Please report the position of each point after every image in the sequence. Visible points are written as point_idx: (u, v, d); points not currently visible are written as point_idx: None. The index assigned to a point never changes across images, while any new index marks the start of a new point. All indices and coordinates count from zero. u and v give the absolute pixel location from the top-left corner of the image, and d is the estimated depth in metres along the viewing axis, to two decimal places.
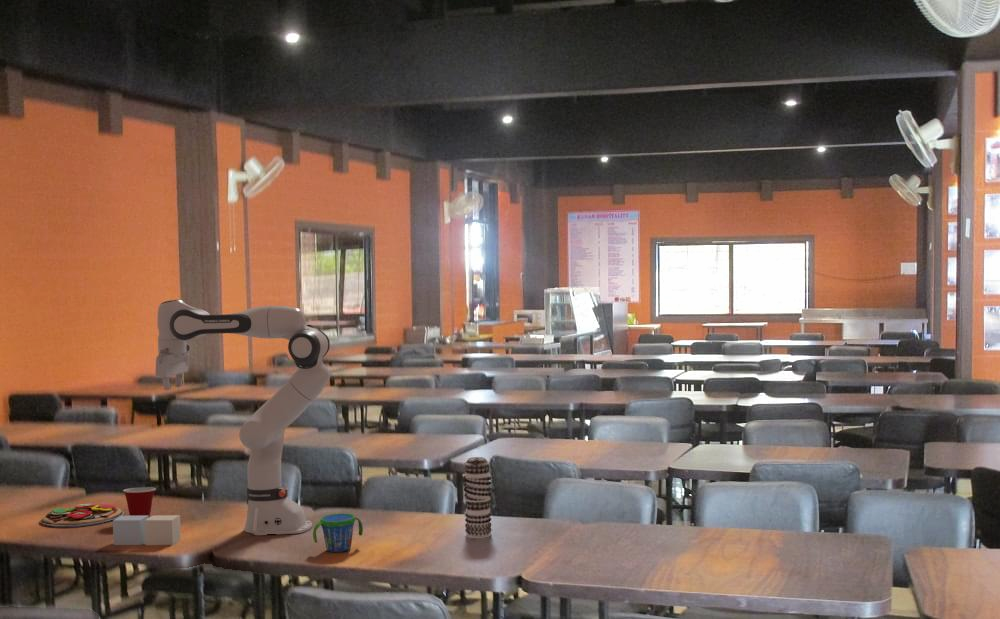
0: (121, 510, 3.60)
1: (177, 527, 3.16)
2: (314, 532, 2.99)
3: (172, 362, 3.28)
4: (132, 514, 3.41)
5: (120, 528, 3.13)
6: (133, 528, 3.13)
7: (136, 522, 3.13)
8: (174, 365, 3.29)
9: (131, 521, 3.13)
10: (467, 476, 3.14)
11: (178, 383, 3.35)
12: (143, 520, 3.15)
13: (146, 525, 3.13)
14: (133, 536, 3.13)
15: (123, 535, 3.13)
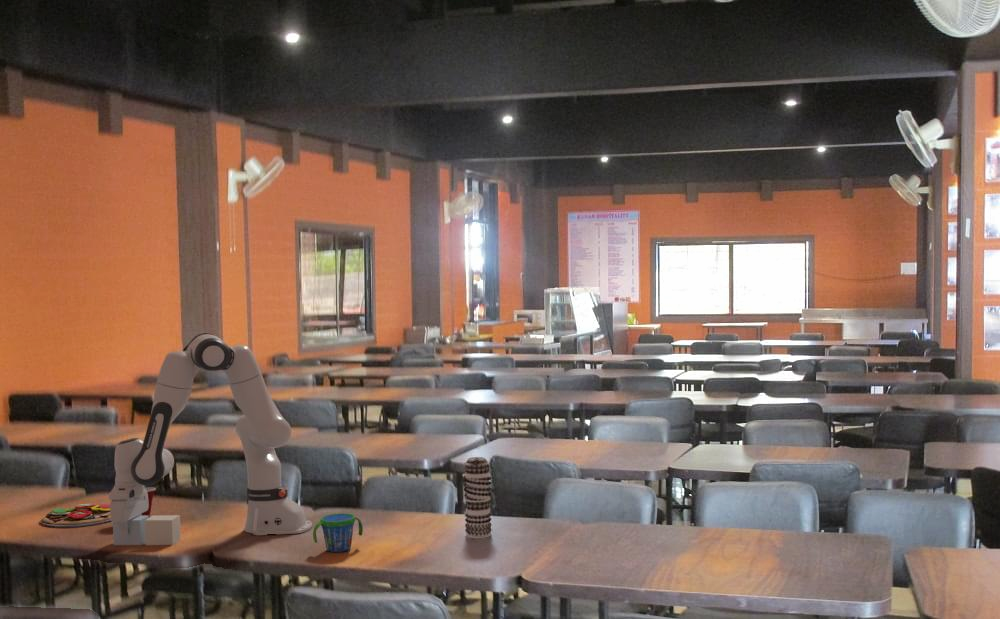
0: None
1: (177, 527, 3.16)
2: (314, 532, 2.99)
3: None
4: None
5: (120, 528, 3.13)
6: (133, 528, 3.13)
7: (136, 522, 3.13)
8: None
9: (131, 521, 3.13)
10: (467, 476, 3.14)
11: None
12: (143, 520, 3.15)
13: (146, 525, 3.13)
14: (133, 536, 3.13)
15: (123, 535, 3.13)
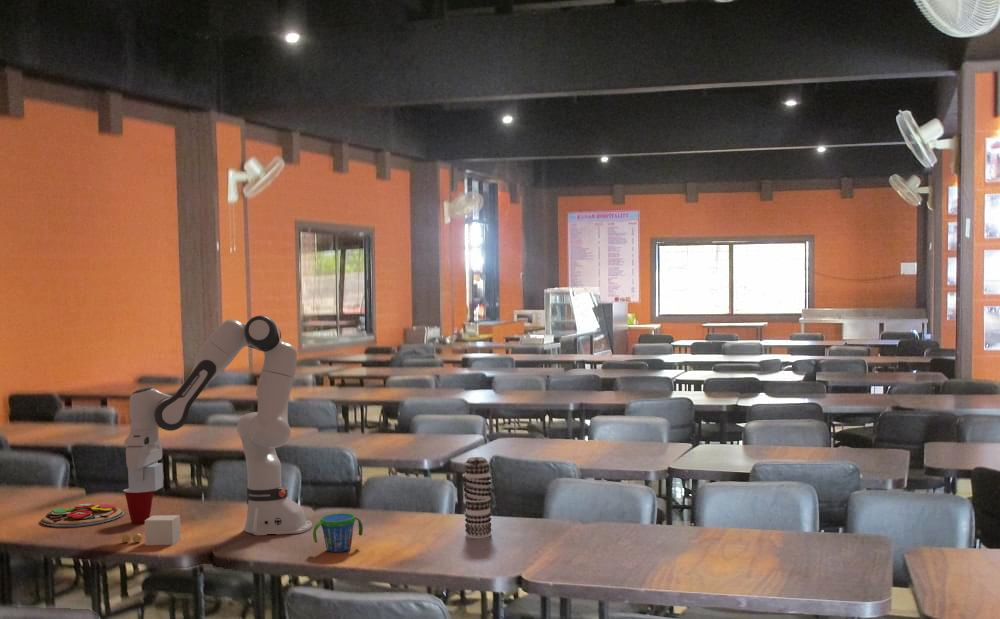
0: (121, 510, 3.60)
1: (177, 527, 3.16)
2: (314, 532, 2.99)
3: None
4: (132, 514, 3.41)
5: (135, 474, 3.23)
6: (148, 474, 3.22)
7: (151, 468, 3.22)
8: None
9: (146, 467, 3.22)
10: (467, 476, 3.14)
11: None
12: (157, 467, 3.25)
13: (146, 525, 3.13)
14: (147, 482, 3.22)
15: (138, 481, 3.23)
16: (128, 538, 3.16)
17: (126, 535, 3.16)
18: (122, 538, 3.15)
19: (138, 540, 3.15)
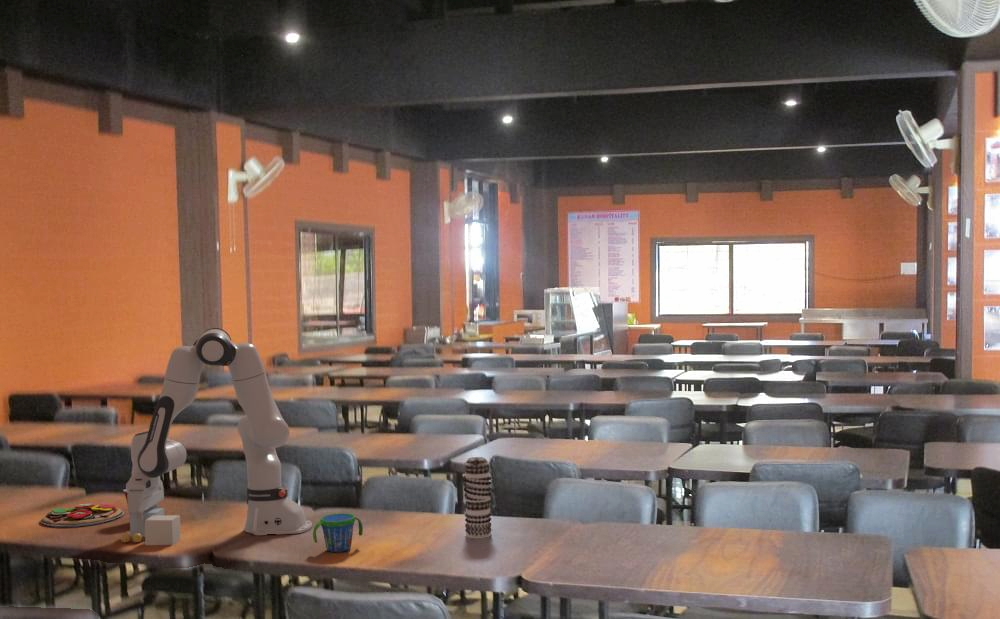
0: (121, 510, 3.60)
1: (177, 527, 3.16)
2: (314, 532, 2.99)
3: None
4: None
5: (137, 520, 3.23)
6: None
7: (153, 514, 3.23)
8: None
9: (147, 514, 3.23)
10: (467, 476, 3.14)
11: None
12: (159, 513, 3.25)
13: (146, 525, 3.13)
14: None
15: (140, 527, 3.23)
16: (128, 538, 3.16)
17: (126, 535, 3.16)
18: (122, 538, 3.15)
19: (138, 540, 3.15)
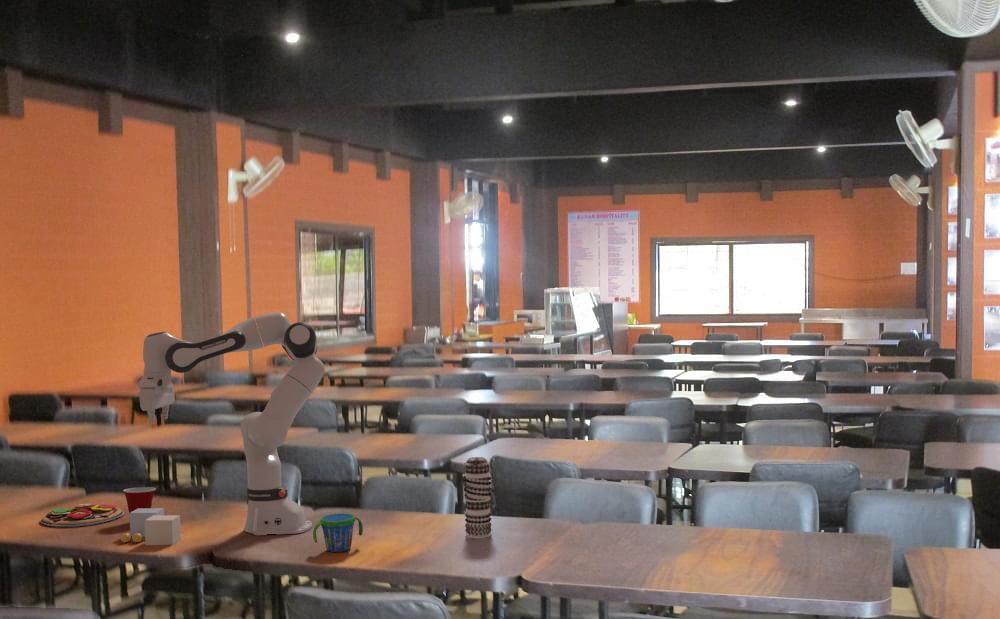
0: (121, 510, 3.60)
1: (177, 527, 3.16)
2: (314, 532, 2.99)
3: None
4: None
5: (137, 520, 3.23)
6: None
7: (153, 514, 3.23)
8: None
9: (147, 514, 3.23)
10: (467, 476, 3.14)
11: None
12: (159, 513, 3.25)
13: (146, 525, 3.13)
14: None
15: (140, 527, 3.23)
16: (128, 538, 3.16)
17: (126, 535, 3.16)
18: (122, 538, 3.15)
19: (138, 540, 3.15)
